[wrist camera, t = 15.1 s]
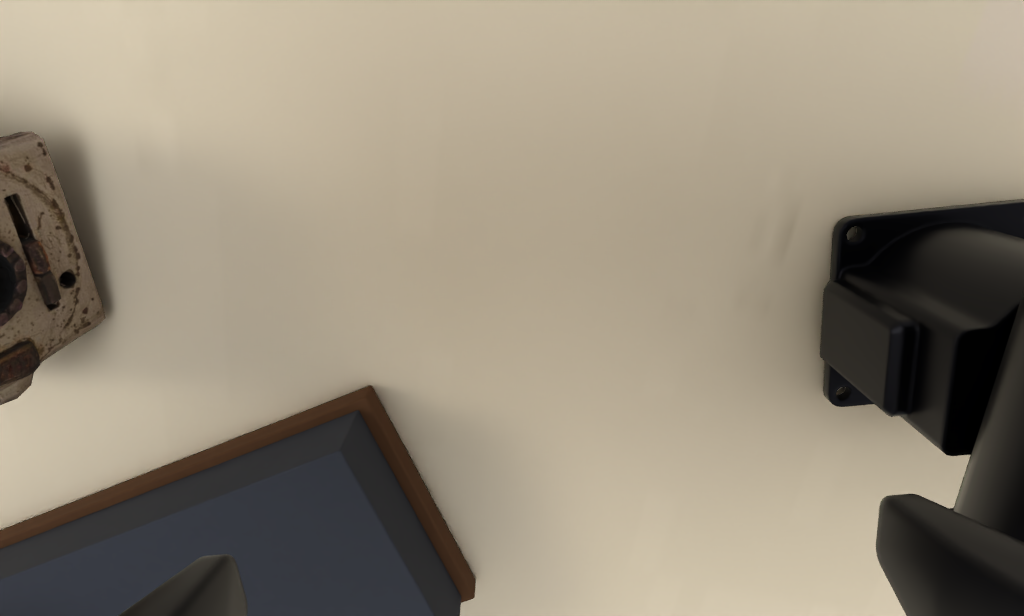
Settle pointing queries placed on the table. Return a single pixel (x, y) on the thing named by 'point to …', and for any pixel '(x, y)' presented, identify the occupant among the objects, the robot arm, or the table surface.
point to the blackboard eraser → (255, 527)
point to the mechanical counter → (38, 265)
